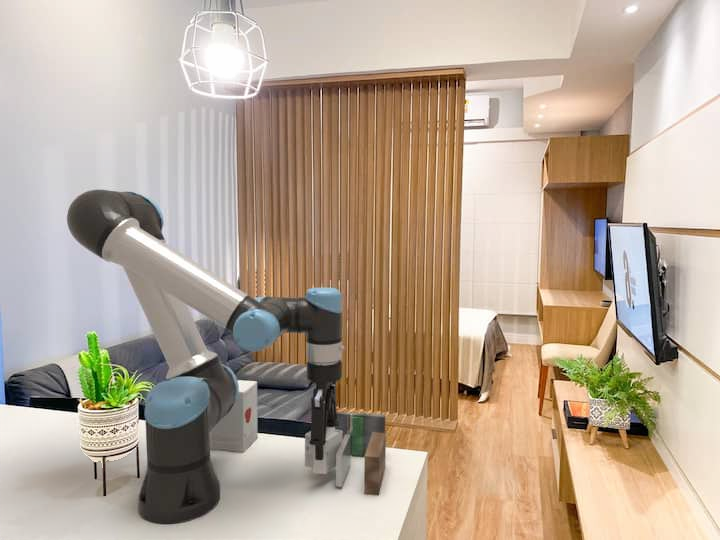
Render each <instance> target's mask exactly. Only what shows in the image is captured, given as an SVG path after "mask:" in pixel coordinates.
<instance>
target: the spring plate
mask: <svg viewBox="0 0 720 540" xmlns="http://www.w3.org/2000/svg"><path fill="white" fill-rule="evenodd" d="M352 432H353V414H350V428H349V430H348V432H347V434H345V436H344V438H343V440H342V442H341V445H340V447H339V449H338V451H337V453H336V467H335V469H336V470H335V482H336V483H335V486H336V487H338V488H342V487H343V486H344V482H345V480H346V477H347V474H348V471H349V469H350V467H351V456H350V437H351V435H352Z"/></svg>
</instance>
